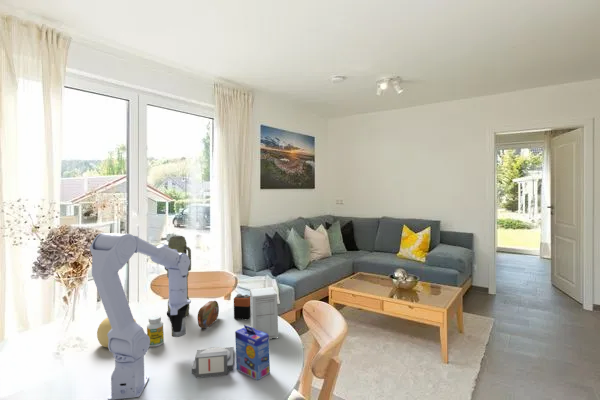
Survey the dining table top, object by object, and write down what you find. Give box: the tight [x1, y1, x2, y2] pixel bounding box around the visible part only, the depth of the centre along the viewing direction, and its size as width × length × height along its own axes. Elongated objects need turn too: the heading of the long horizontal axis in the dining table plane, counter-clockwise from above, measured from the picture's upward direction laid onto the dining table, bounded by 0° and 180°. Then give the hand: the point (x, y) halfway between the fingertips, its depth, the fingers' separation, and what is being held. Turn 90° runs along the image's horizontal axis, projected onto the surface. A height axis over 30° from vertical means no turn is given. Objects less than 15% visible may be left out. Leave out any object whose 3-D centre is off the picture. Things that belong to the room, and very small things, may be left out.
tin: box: [197, 300, 220, 329], centre depth 138 cm, size 15×3×8 cm, turn 170°
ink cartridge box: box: [234, 324, 271, 381], centre depth 101 cm, size 10×6×14 cm, turn 51°
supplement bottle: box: [146, 315, 165, 348], centre depth 120 cm, size 5×5×10 cm
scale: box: [191, 346, 235, 379], centre depth 106 cm, size 15×12×6 cm
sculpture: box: [96, 317, 137, 348], centre depth 121 cm, size 11×12×11 cm
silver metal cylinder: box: [171, 317, 187, 338], centre depth 112 cm, size 4×4×5 cm
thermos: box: [164, 235, 192, 318], centre depth 147 cm, size 9×12×35 cm
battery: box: [233, 293, 251, 321], centre depth 144 cm, size 4×7×10 cm, turn 80°
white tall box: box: [249, 286, 279, 340], centre depth 127 cm, size 10×9×17 cm
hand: (178, 328), depth 112 cm, fingers closed on silver metal cylinder, 4 cm apart
